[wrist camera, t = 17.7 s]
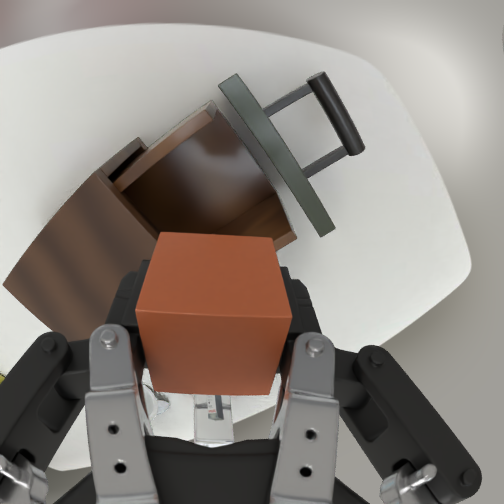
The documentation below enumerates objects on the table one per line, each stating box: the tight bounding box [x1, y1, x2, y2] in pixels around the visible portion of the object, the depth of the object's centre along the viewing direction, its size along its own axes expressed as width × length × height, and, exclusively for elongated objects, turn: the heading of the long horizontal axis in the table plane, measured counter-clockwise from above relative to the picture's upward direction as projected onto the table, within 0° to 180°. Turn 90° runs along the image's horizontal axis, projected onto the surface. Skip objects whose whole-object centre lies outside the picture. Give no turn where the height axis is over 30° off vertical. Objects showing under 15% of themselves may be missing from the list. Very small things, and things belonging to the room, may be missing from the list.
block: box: [135, 232, 292, 395], centre depth 10 cm, size 4×4×4 cm
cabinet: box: [3, 137, 159, 342], centre depth 24 cm, size 15×13×10 cm
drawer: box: [111, 72, 365, 251], centre depth 21 cm, size 18×11×8 cm, turn 123°
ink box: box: [194, 394, 234, 447], centre depth 37 cm, size 9×5×12 cm, turn 171°
